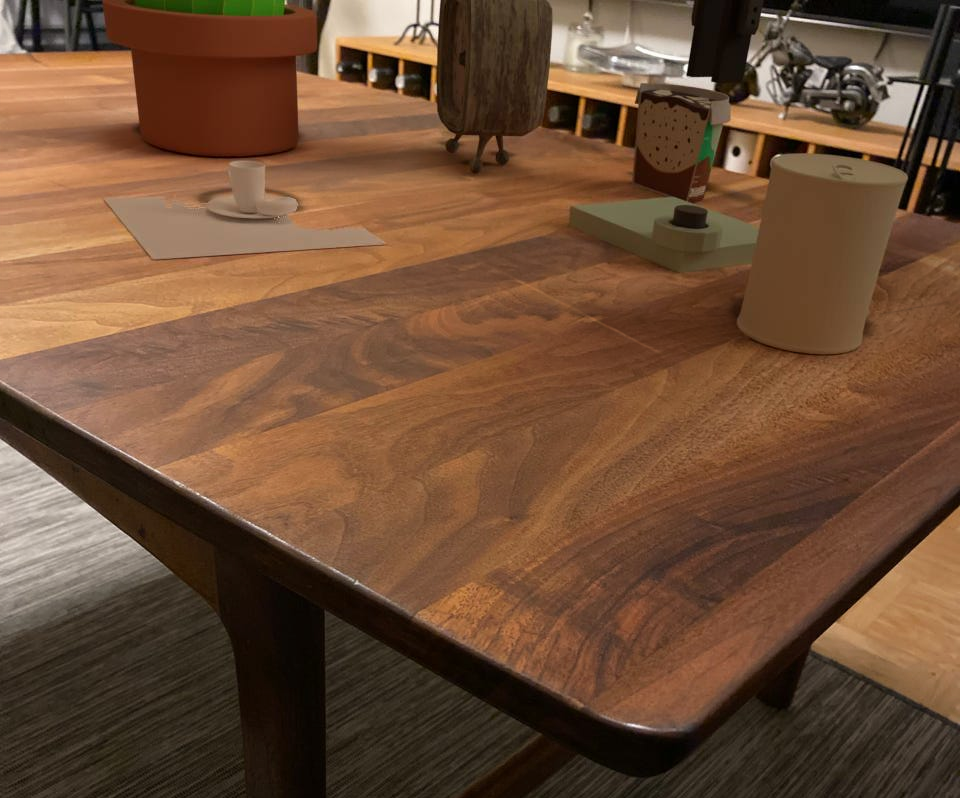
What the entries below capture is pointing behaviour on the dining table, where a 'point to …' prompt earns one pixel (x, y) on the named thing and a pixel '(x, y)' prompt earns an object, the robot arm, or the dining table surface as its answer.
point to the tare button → (689, 217)
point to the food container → (677, 138)
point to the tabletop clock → (492, 70)
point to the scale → (668, 233)
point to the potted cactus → (215, 71)
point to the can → (819, 251)
